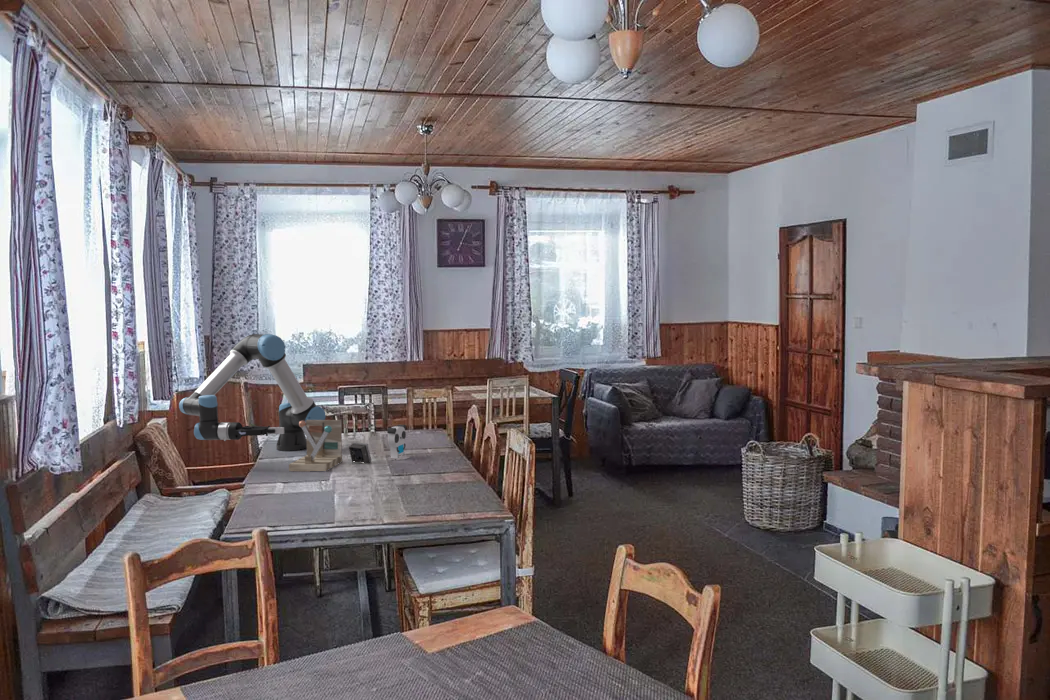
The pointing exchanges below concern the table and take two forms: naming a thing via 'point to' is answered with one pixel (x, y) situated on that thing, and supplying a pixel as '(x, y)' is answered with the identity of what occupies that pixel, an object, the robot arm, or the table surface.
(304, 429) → the terracotta lever
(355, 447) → the electrical switch
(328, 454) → the switch unit
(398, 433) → the panda figurine
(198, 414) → the robot arm
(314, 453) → the teal lever
